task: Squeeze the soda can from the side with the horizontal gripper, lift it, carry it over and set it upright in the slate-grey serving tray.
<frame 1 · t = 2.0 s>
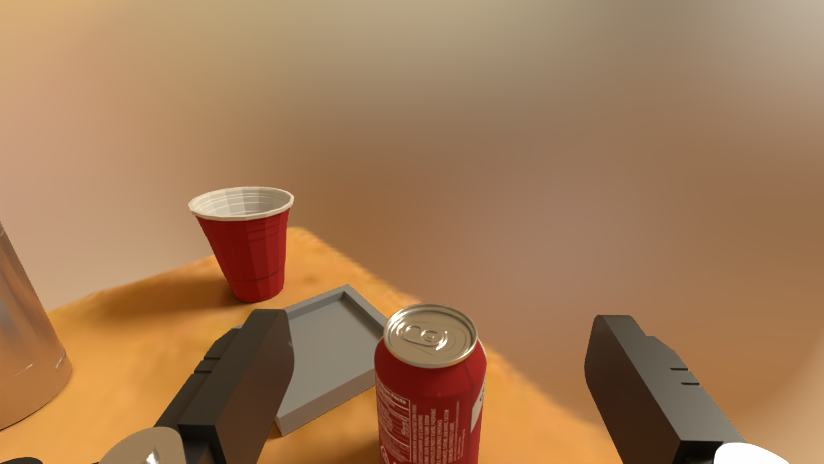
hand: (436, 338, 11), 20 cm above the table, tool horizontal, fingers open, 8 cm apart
serving tray: (322, 352, 39), on the table
plastic cup: (261, 289, 49), on the table
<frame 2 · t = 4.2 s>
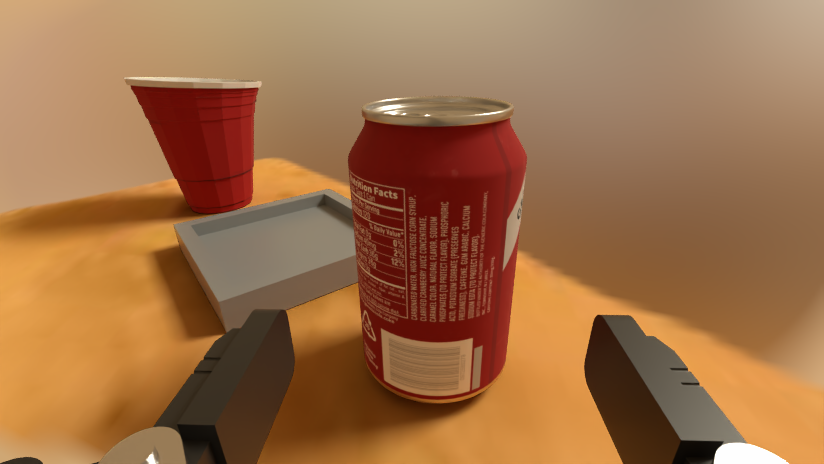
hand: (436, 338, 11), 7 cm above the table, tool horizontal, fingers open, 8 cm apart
serving tray: (293, 253, 30), on the table
plastic cup: (225, 204, 40), on the table
soda can: (434, 361, 20), on the table
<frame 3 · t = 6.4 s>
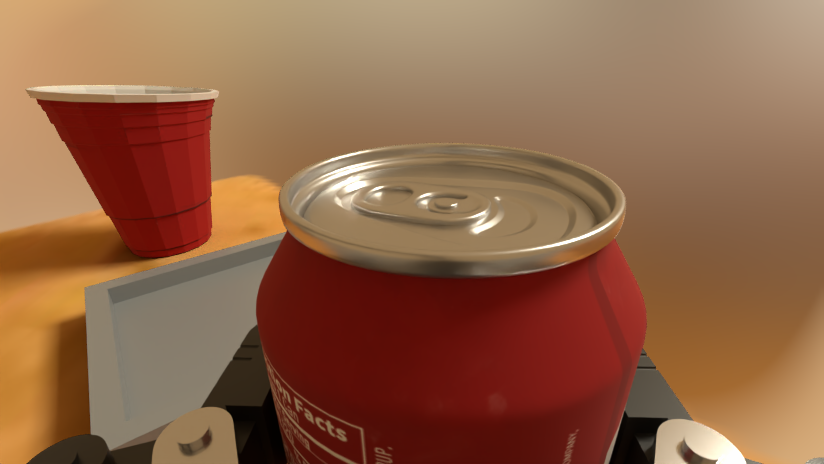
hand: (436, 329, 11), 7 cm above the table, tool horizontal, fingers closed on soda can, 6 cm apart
serving tray: (245, 328, 22), on the table
plastic cup: (176, 242, 33), on the table
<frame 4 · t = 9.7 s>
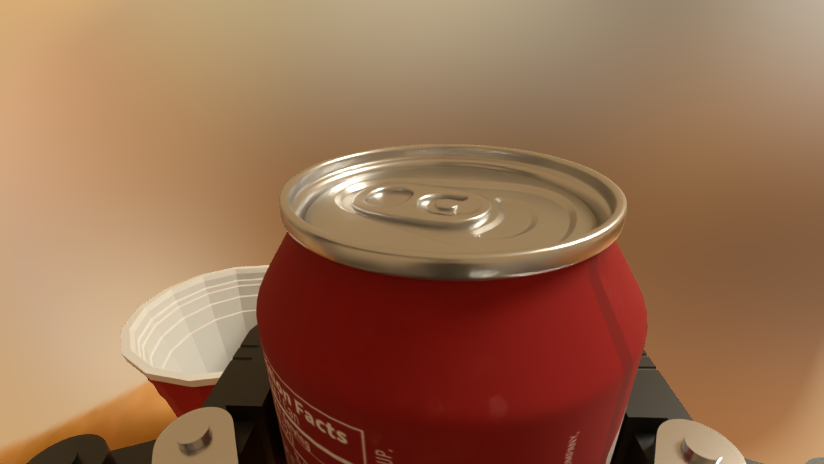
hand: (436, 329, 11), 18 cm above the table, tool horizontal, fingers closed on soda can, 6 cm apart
plastic cup: (273, 452, 27), on the table
when the fingers open (9 cm above the table, at t = 12.8 s): soda can drops 1 cm, resting on serving tray.
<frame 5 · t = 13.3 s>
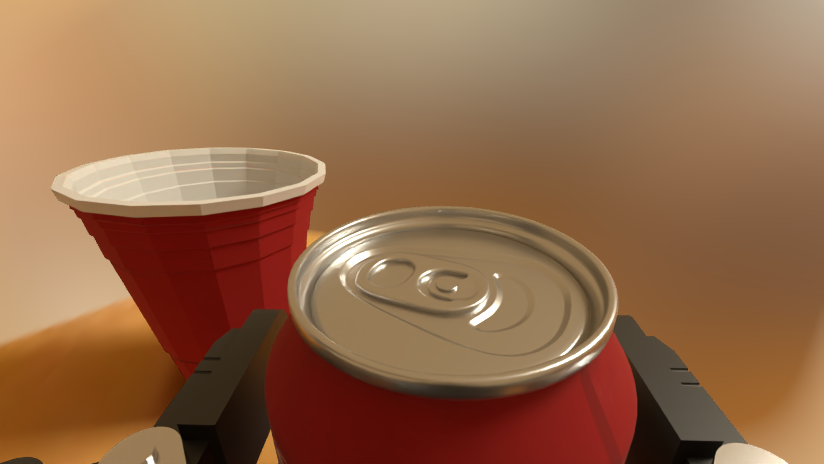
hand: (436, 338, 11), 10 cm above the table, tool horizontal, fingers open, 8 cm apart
plastic cup: (252, 366, 23), on the table
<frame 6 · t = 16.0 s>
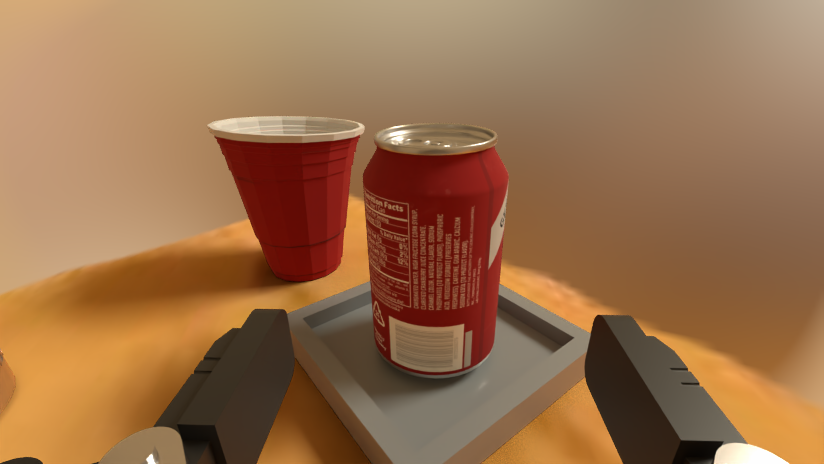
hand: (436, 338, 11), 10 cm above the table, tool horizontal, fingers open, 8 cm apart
serving tray: (432, 354, 24), on the table
plastic cup: (309, 265, 34), on the table
soda can: (433, 346, 23), point 1 cm above the table, touching serving tray
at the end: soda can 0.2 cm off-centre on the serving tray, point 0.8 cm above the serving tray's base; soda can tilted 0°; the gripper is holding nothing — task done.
